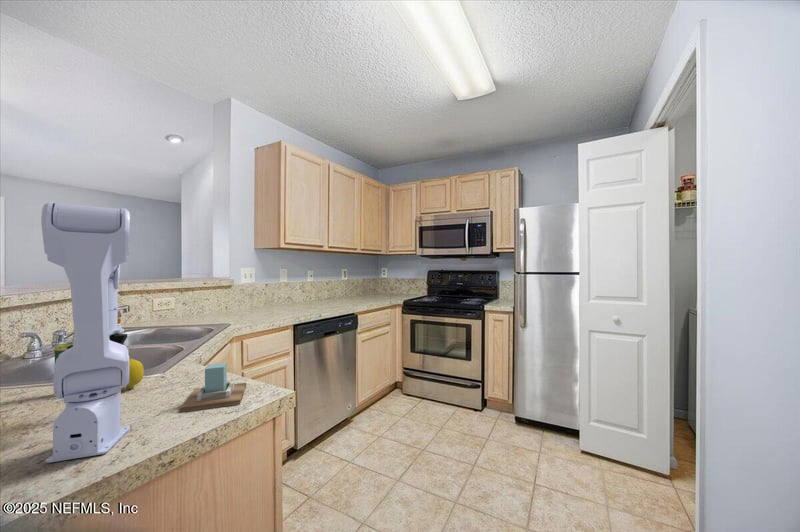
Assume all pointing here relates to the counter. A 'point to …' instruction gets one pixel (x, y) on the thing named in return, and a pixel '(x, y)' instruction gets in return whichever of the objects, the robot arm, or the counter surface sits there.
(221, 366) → the square peg
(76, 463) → the counter surface
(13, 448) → the counter surface
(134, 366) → the lemon
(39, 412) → the counter surface
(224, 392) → the socket
